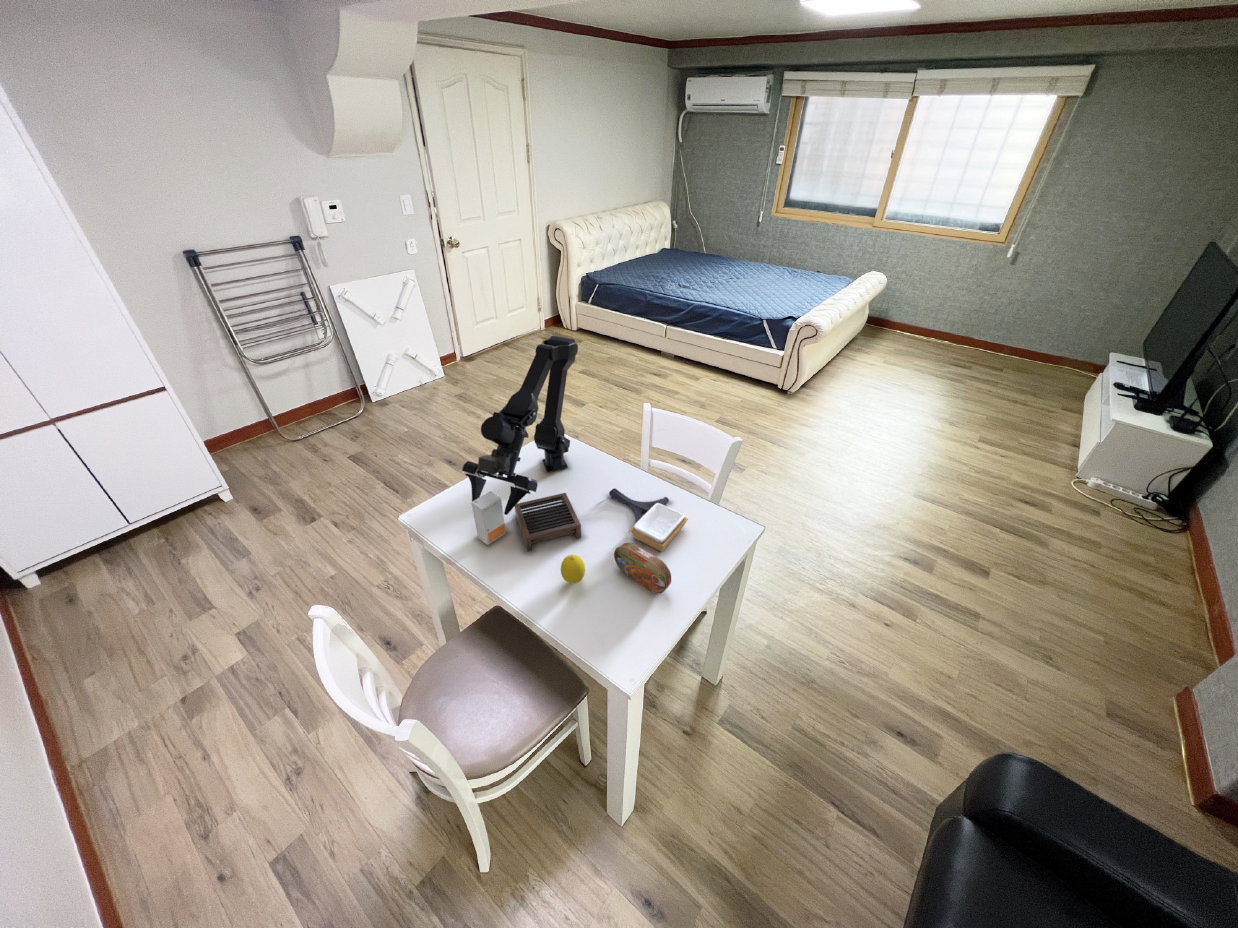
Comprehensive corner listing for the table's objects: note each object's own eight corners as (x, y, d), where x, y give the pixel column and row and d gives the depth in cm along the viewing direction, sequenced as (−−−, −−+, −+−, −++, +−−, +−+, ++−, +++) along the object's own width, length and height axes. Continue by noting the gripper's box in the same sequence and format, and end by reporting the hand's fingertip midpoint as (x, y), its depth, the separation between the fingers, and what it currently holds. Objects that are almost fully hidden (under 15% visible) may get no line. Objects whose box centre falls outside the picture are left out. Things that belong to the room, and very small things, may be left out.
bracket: (625, 482, 143) (625, 475, 141) (668, 502, 136) (669, 495, 134) (594, 509, 134) (594, 501, 132) (639, 531, 127) (640, 523, 125)
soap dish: (655, 514, 132) (656, 499, 129) (687, 528, 128) (689, 514, 125) (629, 540, 124) (629, 525, 121) (662, 557, 119) (663, 542, 116)
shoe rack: (515, 516, 130) (514, 504, 128) (566, 505, 135) (565, 492, 132) (527, 551, 120) (525, 538, 118) (581, 537, 125) (580, 524, 122)
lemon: (573, 568, 116) (571, 544, 111) (590, 580, 113) (589, 555, 109) (556, 582, 113) (554, 558, 108) (574, 594, 110) (572, 570, 105)
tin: (613, 566, 117) (613, 541, 112) (621, 559, 119) (622, 534, 114) (663, 600, 109) (666, 575, 104) (672, 592, 111) (675, 566, 106)
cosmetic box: (488, 546, 122) (480, 509, 115) (477, 538, 124) (469, 502, 117) (507, 533, 125) (501, 497, 118) (497, 525, 128) (490, 490, 121)
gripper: (459, 433, 117) (438, 496, 115) (527, 450, 112) (506, 516, 110) (483, 444, 128) (464, 501, 126) (546, 460, 122) (527, 520, 120)
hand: (489, 509), depth 120 cm, fingers open, 9 cm apart
